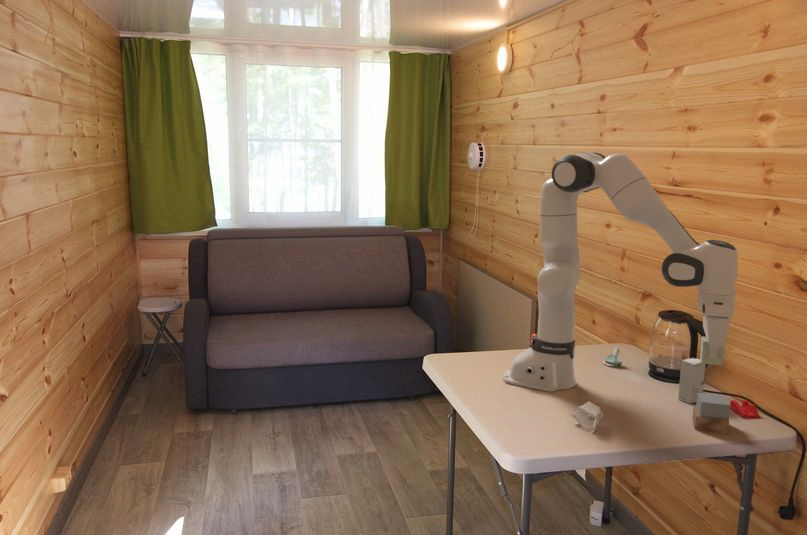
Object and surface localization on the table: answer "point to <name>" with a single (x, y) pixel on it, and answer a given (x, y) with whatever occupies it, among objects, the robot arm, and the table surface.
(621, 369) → the table surface
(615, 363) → the pacifier
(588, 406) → the origami figure
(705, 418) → the tower base
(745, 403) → the red irregular chunk
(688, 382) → the skincare box
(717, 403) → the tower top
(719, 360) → the sage block
